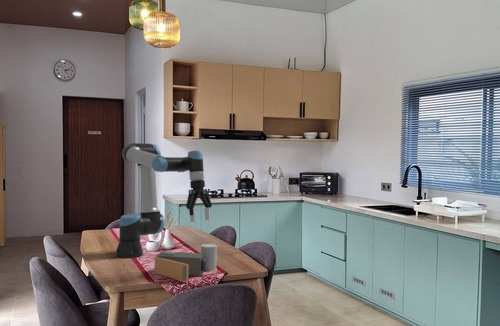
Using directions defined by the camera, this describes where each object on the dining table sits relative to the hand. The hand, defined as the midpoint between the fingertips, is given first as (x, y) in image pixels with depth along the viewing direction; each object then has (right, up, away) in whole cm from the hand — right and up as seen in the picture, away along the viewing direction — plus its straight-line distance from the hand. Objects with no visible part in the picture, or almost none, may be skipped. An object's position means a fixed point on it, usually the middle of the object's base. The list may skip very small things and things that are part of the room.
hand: (200, 220), depth 244 cm
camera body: (-9, -25, -8) cm, 28 cm away
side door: (-13, -25, -19) cm, 34 cm away
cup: (+4, -25, +2) cm, 26 cm away
